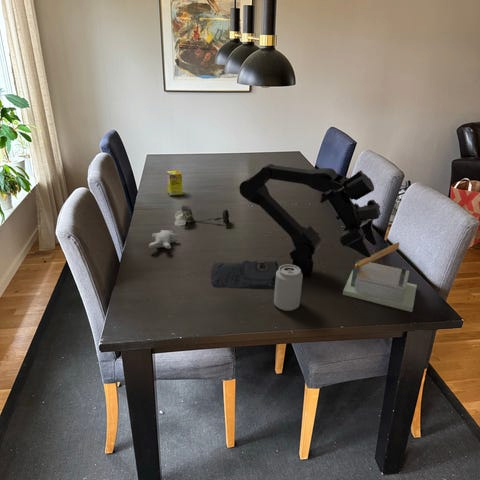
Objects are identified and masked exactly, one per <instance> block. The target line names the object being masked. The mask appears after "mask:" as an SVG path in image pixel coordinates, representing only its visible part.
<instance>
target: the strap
mask: <svg viewBox="0 0 480 480" xmlns="http://www.w3.org/2000/svg"><path fill="white" fill-rule="evenodd" d="M399 247H400V242H399V241H397V242H395V243H393V244H392V245H389V246H387V247H386V248H384V249H381V250H379V251H377V252H375V253H373V254H371V257H369V258H367V257H366V258H363V259H360V260H361V261H359V262H357V261H356V262H355V265H354V267H358V268H360V267H362V266H364V265H366V264H368V263H370V262H372V263H373V261H375V260H378V259H380V258H383V257H384V256H386V255H388V254H391V253H392V252H394V251H396V250H398V249H399Z"/></svg>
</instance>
